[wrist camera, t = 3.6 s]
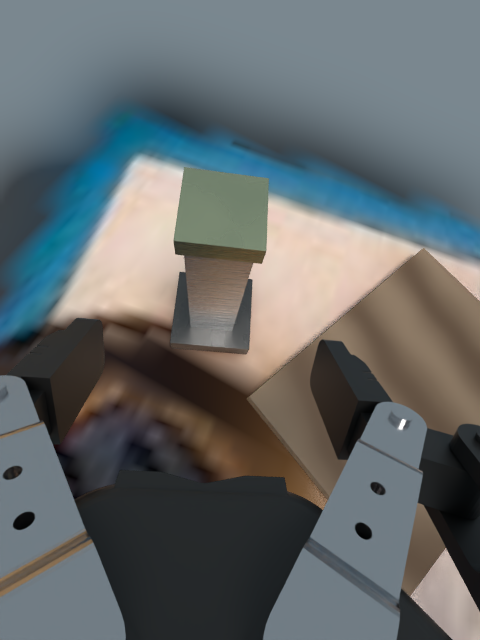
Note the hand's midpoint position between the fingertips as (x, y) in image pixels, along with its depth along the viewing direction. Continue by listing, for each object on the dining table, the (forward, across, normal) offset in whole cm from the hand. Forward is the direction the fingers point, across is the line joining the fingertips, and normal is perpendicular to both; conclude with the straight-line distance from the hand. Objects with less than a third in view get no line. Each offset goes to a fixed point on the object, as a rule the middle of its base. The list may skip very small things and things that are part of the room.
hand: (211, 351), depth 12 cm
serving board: (+9, -15, +8) cm, 20 cm away
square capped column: (+13, 0, +4) cm, 13 cm away
